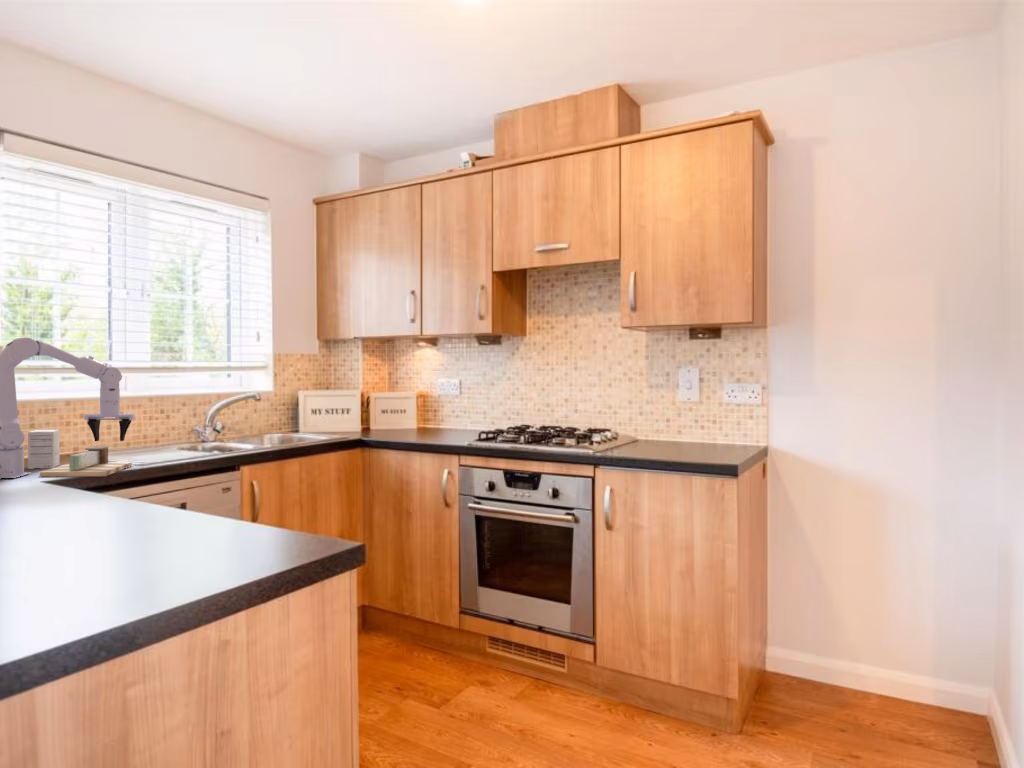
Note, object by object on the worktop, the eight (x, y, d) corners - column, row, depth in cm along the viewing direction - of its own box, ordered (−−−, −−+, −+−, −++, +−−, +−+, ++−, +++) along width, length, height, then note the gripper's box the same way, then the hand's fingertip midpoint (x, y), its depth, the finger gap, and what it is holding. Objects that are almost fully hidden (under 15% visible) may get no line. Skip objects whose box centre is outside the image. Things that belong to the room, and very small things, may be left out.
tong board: (105, 476, 201) (105, 454, 201) (39, 476, 198) (39, 454, 198) (132, 466, 221) (132, 446, 221) (72, 466, 217) (72, 446, 217)
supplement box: (34, 465, 218) (35, 429, 218) (60, 464, 221) (60, 429, 220) (27, 469, 211) (27, 431, 211) (53, 468, 214) (53, 431, 214)
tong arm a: (78, 469, 201) (78, 455, 201) (74, 469, 201) (74, 455, 201) (100, 463, 215) (100, 450, 215) (95, 463, 215) (96, 450, 215)
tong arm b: (73, 470, 201) (73, 455, 201) (69, 470, 201) (69, 455, 201) (94, 463, 215) (95, 450, 215) (90, 463, 215) (90, 450, 215)
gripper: (81, 402, 210) (81, 442, 211) (129, 402, 214) (129, 441, 215) (89, 401, 217) (89, 440, 217) (136, 401, 221) (135, 439, 221)
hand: (109, 440), depth 216 cm, fingers open, 7 cm apart
